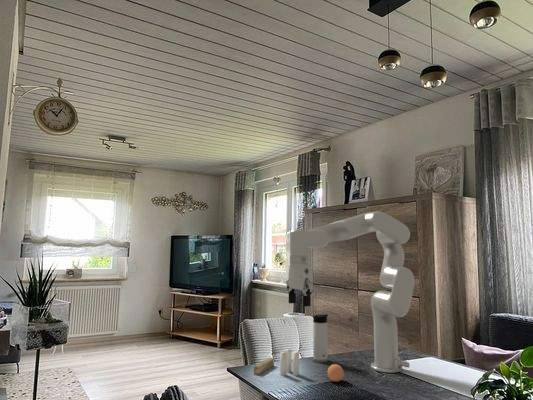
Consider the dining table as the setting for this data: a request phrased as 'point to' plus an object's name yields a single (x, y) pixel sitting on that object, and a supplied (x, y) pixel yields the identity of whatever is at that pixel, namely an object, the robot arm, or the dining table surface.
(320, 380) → the dining table surface
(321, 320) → the travel mug
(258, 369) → the wooden bar
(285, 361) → the pin
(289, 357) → the pin
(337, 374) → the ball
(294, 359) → the front pin
